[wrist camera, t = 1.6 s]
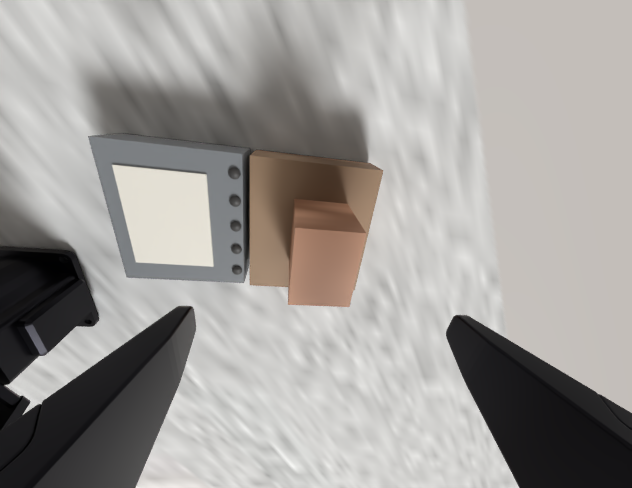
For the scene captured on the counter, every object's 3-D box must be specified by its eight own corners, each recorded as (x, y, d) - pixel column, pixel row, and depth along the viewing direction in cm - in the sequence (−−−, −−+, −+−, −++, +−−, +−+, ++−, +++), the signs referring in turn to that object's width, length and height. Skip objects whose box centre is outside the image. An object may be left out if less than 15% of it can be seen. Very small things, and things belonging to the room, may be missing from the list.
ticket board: (148, 256, 17) (125, 278, 15) (121, 133, 14) (86, 136, 11) (249, 262, 18) (243, 283, 16) (250, 148, 14) (241, 154, 12)
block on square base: (254, 264, 18) (237, 333, 12) (256, 149, 14) (231, 170, 9) (347, 269, 19) (371, 336, 13) (370, 163, 15) (416, 190, 10)
